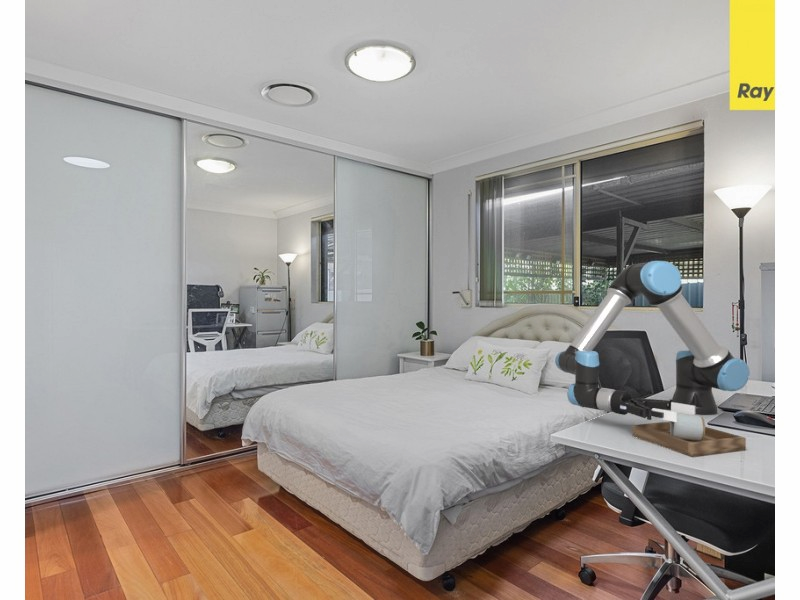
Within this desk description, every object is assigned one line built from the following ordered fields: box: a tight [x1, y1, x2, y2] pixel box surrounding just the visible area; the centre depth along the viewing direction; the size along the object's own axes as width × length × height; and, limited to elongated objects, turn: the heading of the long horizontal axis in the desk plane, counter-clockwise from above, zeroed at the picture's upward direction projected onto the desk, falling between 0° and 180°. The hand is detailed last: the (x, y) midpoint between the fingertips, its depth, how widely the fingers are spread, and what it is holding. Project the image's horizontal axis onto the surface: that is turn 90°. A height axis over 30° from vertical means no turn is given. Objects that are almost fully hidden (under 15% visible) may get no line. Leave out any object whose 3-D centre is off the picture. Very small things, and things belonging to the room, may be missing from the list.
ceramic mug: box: [670, 412, 706, 441], centre depth 138 cm, size 11×8×8 cm
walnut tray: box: [632, 421, 747, 458], centre depth 136 cm, size 20×20×4 cm
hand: (686, 413), depth 136 cm, fingers open, 13 cm apart
